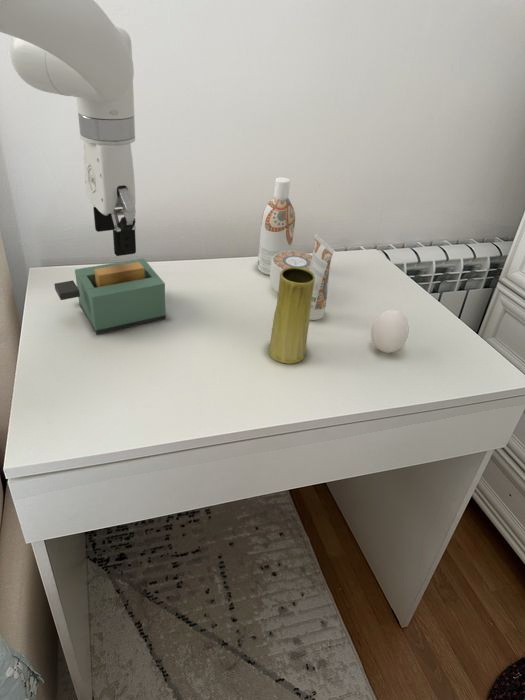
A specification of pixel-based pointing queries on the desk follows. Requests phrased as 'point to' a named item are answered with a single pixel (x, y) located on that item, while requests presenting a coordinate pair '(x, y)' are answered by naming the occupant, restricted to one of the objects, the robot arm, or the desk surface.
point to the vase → (292, 315)
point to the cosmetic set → (279, 244)
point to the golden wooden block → (119, 274)
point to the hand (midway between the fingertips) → (115, 241)
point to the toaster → (121, 299)
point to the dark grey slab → (67, 290)
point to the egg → (389, 331)
